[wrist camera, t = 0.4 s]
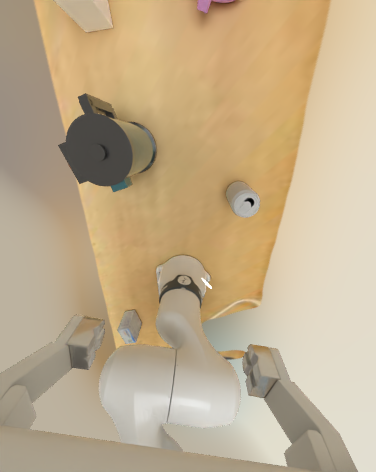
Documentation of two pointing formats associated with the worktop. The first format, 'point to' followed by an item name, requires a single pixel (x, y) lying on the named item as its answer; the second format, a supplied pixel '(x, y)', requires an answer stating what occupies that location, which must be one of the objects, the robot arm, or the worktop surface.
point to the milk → (88, 13)
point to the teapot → (204, 4)
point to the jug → (107, 146)
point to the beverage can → (242, 199)
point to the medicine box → (130, 327)
